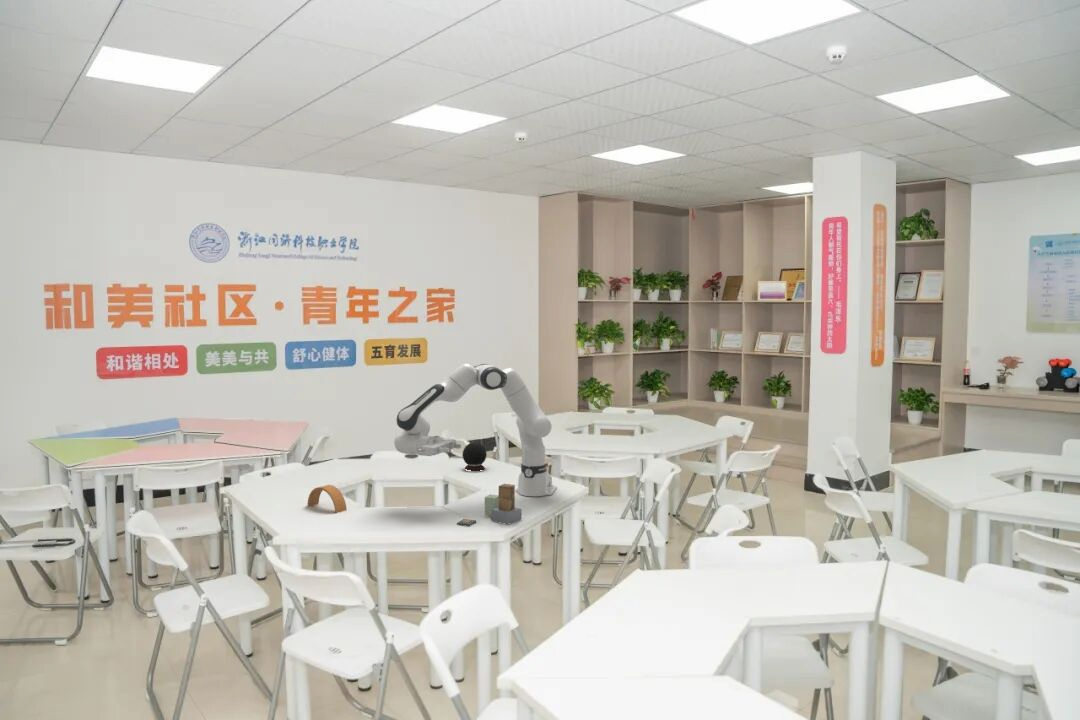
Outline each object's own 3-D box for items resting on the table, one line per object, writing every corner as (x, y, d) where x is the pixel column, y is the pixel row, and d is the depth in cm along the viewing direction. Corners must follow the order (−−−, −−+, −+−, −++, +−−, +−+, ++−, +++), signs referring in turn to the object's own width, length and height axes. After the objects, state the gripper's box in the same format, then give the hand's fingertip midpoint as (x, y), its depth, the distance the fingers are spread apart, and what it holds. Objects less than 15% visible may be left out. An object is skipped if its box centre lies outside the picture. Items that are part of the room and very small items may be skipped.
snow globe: (481, 473, 395) (481, 445, 394) (458, 471, 399) (458, 444, 398) (490, 467, 408) (489, 441, 407) (467, 466, 411) (467, 439, 410)
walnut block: (504, 506, 312) (504, 483, 311) (514, 508, 310) (514, 484, 309) (498, 509, 307) (498, 486, 306) (509, 511, 305) (509, 487, 304)
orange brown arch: (335, 513, 318) (335, 491, 318) (307, 506, 330) (306, 484, 330) (346, 510, 323) (346, 488, 322) (318, 503, 335) (317, 481, 334)
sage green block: (490, 512, 320) (489, 494, 319) (500, 513, 318) (500, 495, 317) (484, 515, 315) (484, 497, 315) (495, 516, 313) (495, 498, 313)
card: (463, 520, 307) (463, 518, 307) (476, 522, 305) (476, 520, 305) (456, 524, 302) (456, 522, 302) (469, 526, 300) (469, 524, 300)
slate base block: (505, 516, 315) (505, 504, 315) (521, 520, 309) (521, 508, 309) (491, 521, 308) (491, 509, 308) (507, 525, 302) (507, 513, 302)
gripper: (414, 442, 315) (442, 445, 310) (439, 435, 334) (466, 437, 328) (414, 457, 315) (442, 460, 310) (439, 448, 334) (466, 451, 329)
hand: (455, 448), depth 319 cm, fingers open, 8 cm apart
